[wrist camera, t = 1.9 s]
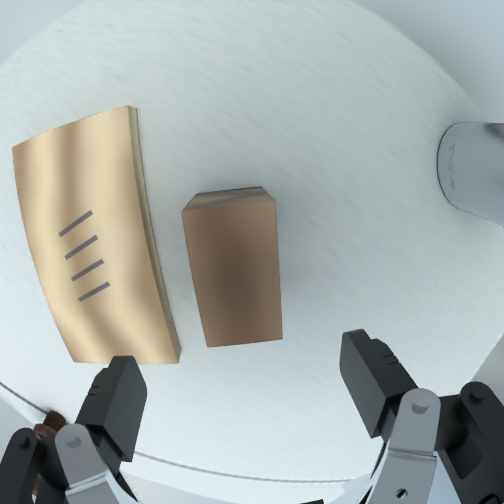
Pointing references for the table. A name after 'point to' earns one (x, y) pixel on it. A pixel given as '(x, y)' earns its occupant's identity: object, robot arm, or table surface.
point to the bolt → (48, 434)
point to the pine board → (95, 239)
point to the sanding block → (235, 265)
